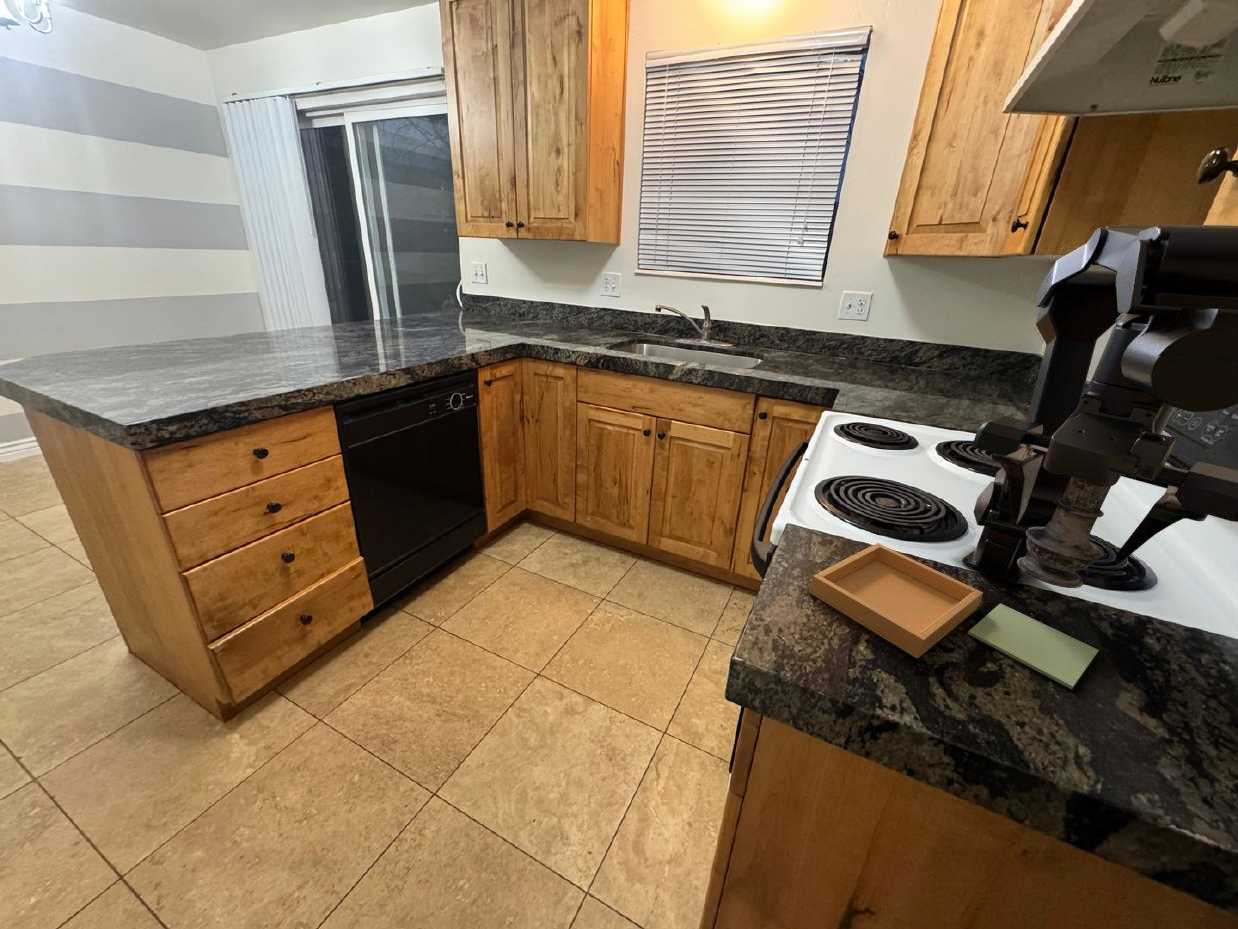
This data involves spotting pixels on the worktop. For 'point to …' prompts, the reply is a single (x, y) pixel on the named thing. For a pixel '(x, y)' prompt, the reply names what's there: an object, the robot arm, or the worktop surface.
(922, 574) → the tray
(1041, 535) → the stone finial
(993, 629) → the mat
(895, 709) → the worktop surface
